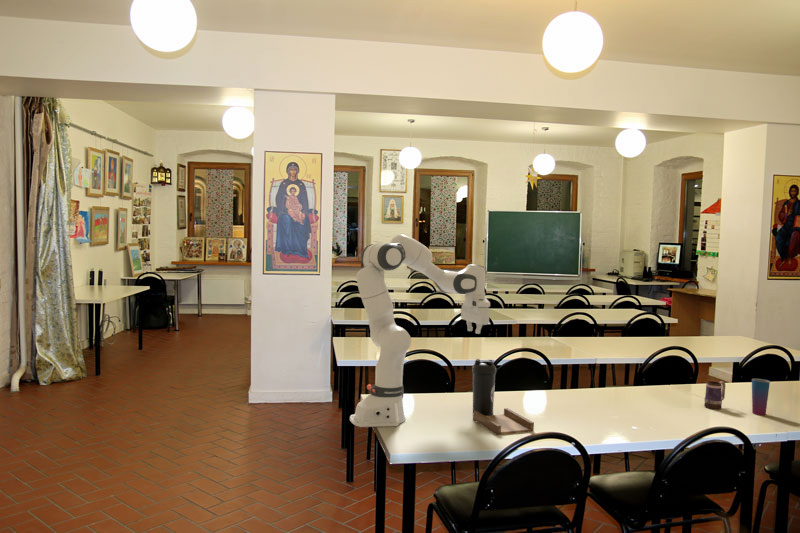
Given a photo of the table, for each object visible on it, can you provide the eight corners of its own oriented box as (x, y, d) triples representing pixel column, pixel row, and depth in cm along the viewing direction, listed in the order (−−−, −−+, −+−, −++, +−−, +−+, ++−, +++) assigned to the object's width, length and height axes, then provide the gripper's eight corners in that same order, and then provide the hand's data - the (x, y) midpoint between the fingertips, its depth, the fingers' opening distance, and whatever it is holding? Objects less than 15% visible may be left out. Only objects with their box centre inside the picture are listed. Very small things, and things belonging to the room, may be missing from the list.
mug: (713, 410, 258) (714, 384, 258) (700, 406, 265) (701, 380, 264) (730, 408, 262) (731, 382, 261) (717, 404, 268) (718, 379, 268)
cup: (766, 412, 256) (768, 379, 256) (769, 416, 250) (771, 383, 250) (749, 410, 259) (750, 378, 259) (751, 414, 253) (752, 381, 252)
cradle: (497, 435, 216) (497, 426, 216) (472, 419, 235) (473, 411, 235) (533, 431, 222) (533, 422, 222) (507, 416, 241) (507, 408, 241)
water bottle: (494, 417, 238) (496, 363, 237) (469, 415, 240) (471, 361, 239) (495, 411, 248) (497, 358, 247) (471, 409, 250) (473, 356, 249)
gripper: (458, 298, 261) (457, 328, 261) (479, 303, 241) (478, 336, 242) (470, 298, 263) (469, 328, 263) (492, 303, 244) (491, 335, 244)
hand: (473, 332), depth 252 cm, fingers open, 6 cm apart
